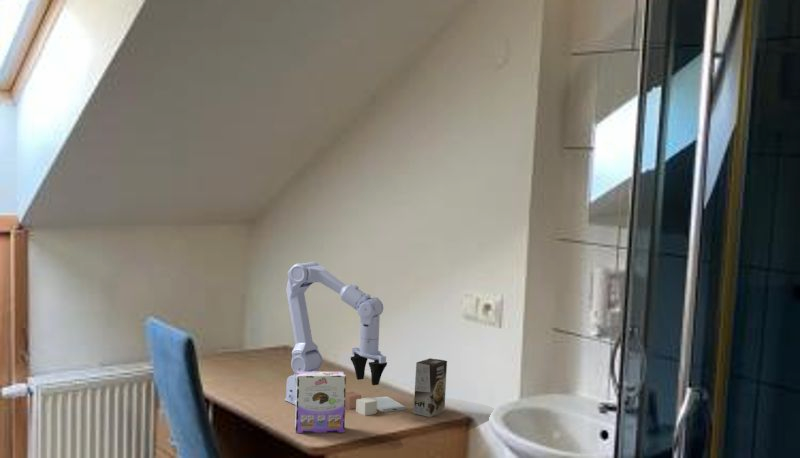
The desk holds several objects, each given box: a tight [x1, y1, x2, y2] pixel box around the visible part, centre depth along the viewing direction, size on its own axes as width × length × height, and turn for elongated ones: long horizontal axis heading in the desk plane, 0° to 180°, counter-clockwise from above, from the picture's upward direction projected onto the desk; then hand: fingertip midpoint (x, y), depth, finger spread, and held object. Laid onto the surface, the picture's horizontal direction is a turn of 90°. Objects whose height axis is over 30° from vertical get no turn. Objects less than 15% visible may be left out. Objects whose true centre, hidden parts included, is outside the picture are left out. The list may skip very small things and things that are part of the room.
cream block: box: [355, 397, 378, 416], centre depth 260 cm, size 4×4×4 cm
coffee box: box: [413, 357, 448, 418], centre depth 262 cm, size 9×6×16 cm
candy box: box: [294, 370, 347, 434], centre depth 240 cm, size 14×6×16 cm, turn 99°
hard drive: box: [370, 396, 407, 413], centre depth 268 cm, size 2×8×12 cm
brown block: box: [345, 391, 362, 410], centre depth 266 cm, size 4×4×4 cm
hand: (367, 382), depth 259 cm, fingers open, 7 cm apart
